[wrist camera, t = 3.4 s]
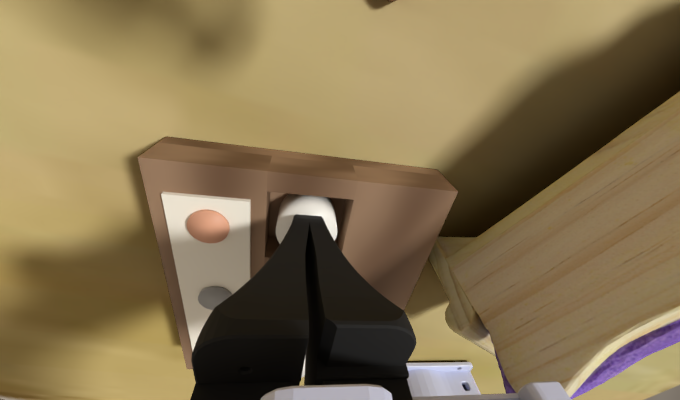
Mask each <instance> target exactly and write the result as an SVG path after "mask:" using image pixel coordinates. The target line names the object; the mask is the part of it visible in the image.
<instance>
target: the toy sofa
mask: <svg viewBox="0 0 680 400" xmlns="http://www.w3.org/2000/svg"><path fill="white" fill-rule="evenodd" d="M428 258H429V260H430V262H431V264H432V266H433V268H434V270H435V272H436V274H437V276H438V278H439V280H440V282H441V284H442V286H443V288H444V291H445V293H446V295H447V297H448V299H449V301H450V302H449V305H448V307H447V309H446V312H445V319H446V322H447V324H448V326H449V328H450V329H452V330H453V331H454V332H455V333H457V334H459V335H460V336H462V337H464V338H465V339H467V340H469V341H471V342H472V343H474V344H476V345H477V346H479V347H481V348H482V349H484V350H486V351H488V352H489V353H491V354H493V355H494V356H496V359H497V361H498V365H499V368H500V370H501V374H502V378H503V382H504V387H505V390H506V394H508V393H518V391H519V390H520V388H521V387H523V386H524V385H525V384H528V383H530V382H544V381H557V382H559V383H560V384H561V386H562V387H563V389H564V390H565V391H566V393H567V394H568V396H569V397H570V398H571V399H572V398H575V397H577V396H579V395H581V394H583V393H585V392H587V391H589V390H591V389H593V388H594V387H596V386H598V385H600V384H602V383H604V382H605V381H607V380H608V379H610V378H612V377H614V376H616V375H617V374H619V373H620V372H622V371H624V370H625V369H626V368H628V367H629V366H631V365H633V364H634V363H636V362H637V361H639V360H641V359H643V358H644V357H646V356H648V355H650V354H652V353H654V352H657V351H659V350H662V349H664V348H666V347H668V346H671V345H673V344H675V343H677V342H679V341H680V91H679V92H678V93H677V94H675V95H674V96H673V97H671V98H670V99H668V100H667V101H666V102H664V103H663V104H661V105H660V106H659V107H657V108H656V109H654V110H653V111H652V112H650V113H649V114H647V115H646V116H645V117H643V118H642V119H640V120H639V121H638V122H636V123H635V124H634V125H632V126H631V127H629V128H628V129H627V130H625V131H624V132H622V133H621V134H620V135H618V136H617V137H616V138H615V139H613V140H612V141H611V142H609V143H608V144H606V145H605V146H604V147H602V148H601V149H599V150H598V151H597V152H595V153H594V154H593V155H591V156H590V157H588V158H587V159H586V160H584V161H583V162H582V163H580V164H579V165H577V166H576V167H575V168H573V169H572V170H570V171H569V172H568V173H566V174H565V175H564V176H562V177H561V178H559V179H558V180H557V181H555V182H554V183H552V184H551V185H550V186H548V187H547V188H545V189H544V190H543V191H541V192H540V193H539V194H537V195H536V196H534V197H533V198H532V199H530V200H529V201H527V202H526V203H525V204H523V205H522V206H520V207H519V208H518V209H516V210H515V211H513V212H512V213H511V214H509V215H508V216H506V217H505V218H504V219H502V220H501V221H499V222H498V223H496V224H495V225H493V226H492V227H491V228H489V229H488V230H486V231H485V232H484V233H482V234H481V235H479V236H478V237H437V239H436V241H435V244H434V246H433V248H432V250H431V252H430V255H429V257H428Z"/></svg>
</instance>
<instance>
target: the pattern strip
mask: <svg viewBox="0 0 680 400" xmlns="http://www.w3.org/2000/svg"><path fill="white" fill-rule="evenodd" d="M161 196H162V201H163V206H164V211H165V216H166V221H167V226H168V231H169V236H170V241H171V246H172V251H173V256H174V261H175V266H176V271H177V276H178V281H179V286H180V291H181V296H182V301H183V306H184V311H185V316H186V321H187V326H188V331H189V336H190V341H191V346H192V351H193V350H194V347H195V344H196V341H197V339H198V336H199V334H200V332H201V330H202V328H203V326H204V324H205V322H206V321H207V319H208V317H209V316H210V314H211V312H212V311H213V309H214V308H215V307H216V306H217V305H219V304H220V303H222V302H223V301H224V300H226V299H227V298H228V297H230V296H231V295H232V294H234V293H235V292H236V291H237V290H239V289H240V288H241V287H242V286H243V285H244V284H245V283H247V282H248V281H249V280H250V279H251V199H239V198H228V197H217V196H206V195H195V194H183V193H172V192H163V193H162V194H161Z"/></svg>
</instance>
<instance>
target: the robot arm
mask: <svg viewBox="0 0 680 400" xmlns="http://www.w3.org/2000/svg"><path fill="white" fill-rule="evenodd" d="M415 345H416V338H415V335H414V332H413V329H412V326H411V324H410V322H409V320H408V318H407V316H406V314H405V312H404V310H402V309H401V308H399V307H398V306H397V305H395V304H394V303H392V302H391V301H389V300H388V299H387V298H385V297H384V296H383V295H382V294H380V293H379V292H378V291H377V290H376V289H374V288H373V287H372V286H371V285H370V284H369V283H368V282H367V281H366V280H365V279H364V278H363V277H362V276H361V275H360V274H359V273H358V272H357V271H356V270H355V269H354V267H353V266H352V265H351V264H350V263H349V261H348V260H347V259H346V257H345V256H344V255H343V253H342V252H341V250H340V249H339V247H338V246H337V244H336V242H335V241H334V239H333V237H332V236H331V234H330V232H329V230H328V228H327V226H326V224H325V221H324V219H323V218H322V216H311V215H299V214H296V215H294V217H293V221H292V223H291V226H290V228H289V230H288V232H287V233H286V235H285V237H284V239H283V240H282V242H281V243H280V245H279V246H278V248H277V249H276V251H275V252H274V253H273V255H272V256H271V257H270V259H269V260H268V261H267V262H266V263H265V265H264V266H263V267H262V268H261V269H260V270H259V271H258V272H257V273H256V274H255V275H254V276H253V277H252V278H251V279H250V280H249V281H248V282H247V283H245V284H244V285H243V286H242V287H241V288H240V289H239V290H237V291H236V292H235V293H234V294H232V295H231V296H230V297H228V298H227V299H226V300H224V301H223V302H222V303H220V304H219V305H217V306H216V307H215V308H214V309H213V311H212V312H211V314H210V316H209V317H208V319H207V321H206V322H205V324H204V326H203V328H202V330H201V332H200V334H199V336H198V339H197V341H196V344H195V347H194V350H193V352H192V358H191V362H192V367H193V371H194V376H195V381H196V384H195V387H194V390H193V394H192V397H191V400H571V398H570V397H569V396H568V394H567V393H566V391H565V390H564V389H563V387H562V386H561V384H560V383H559V382H557V381H544V382H530V383H528V384H525V385H524V386H523V387H521V388H520V390H519V391H518V393H508V394H481V393H480V391H479V389H478V387H477V385H476V383H475V381H474V379H473V377H472V375H471V372H470V371H471V369H472V368H473V366H472V364H471V363H470V362H424V363H407V361H408V359H409V358H410V356H411V354H412V352H413V350H414V348H415ZM305 355H306V356H305ZM304 360H305V381H304V386H299V383H300V381H301V376H302V371H303V365H304ZM0 400H3V399H0Z"/></svg>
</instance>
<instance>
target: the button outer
mask: <svg viewBox="0 0 680 400" xmlns="http://www.w3.org/2000/svg"><path fill="white" fill-rule="evenodd" d="M296 214H299V215H311V216H322V218H323V219H324V221H325V224H326V226H327V228H328V230H329V232H330V234H331V236H332V237H333V239H334V241H335V239H336V237H337V223H336V216H335V209H334V205H333V203H332V201H331V200H330V199H329V198H328V197H320V196H309V195H299V194H289V195H288V196H286V197H285V198H284V199H283V201H282V202H281V204H280V208H279V213H278V219H277V225H276V237H277V240H278V242H279V243H281V242H282V240H283V239H284V237H285V235H286V233H287V232H288V230H289V228H290V226H291V223H292V221H293V217H294V215H296Z"/></svg>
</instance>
